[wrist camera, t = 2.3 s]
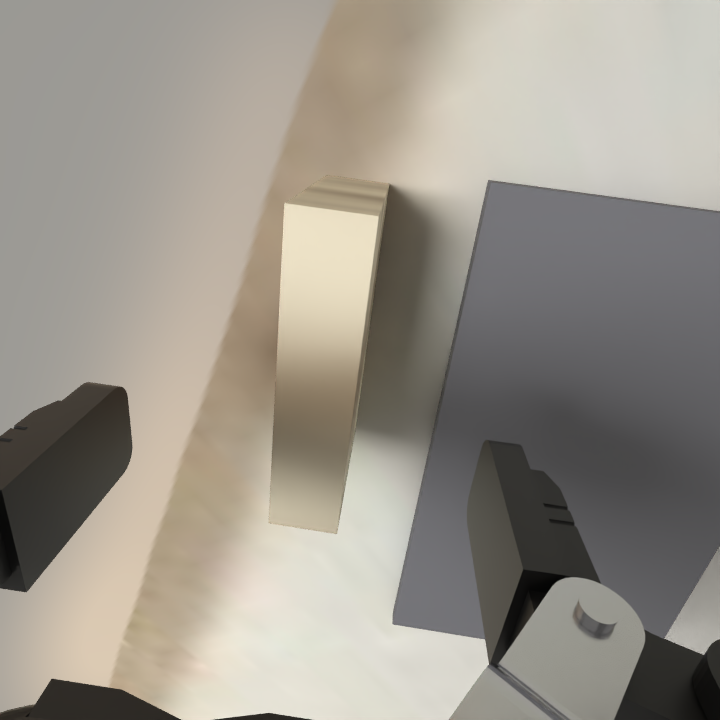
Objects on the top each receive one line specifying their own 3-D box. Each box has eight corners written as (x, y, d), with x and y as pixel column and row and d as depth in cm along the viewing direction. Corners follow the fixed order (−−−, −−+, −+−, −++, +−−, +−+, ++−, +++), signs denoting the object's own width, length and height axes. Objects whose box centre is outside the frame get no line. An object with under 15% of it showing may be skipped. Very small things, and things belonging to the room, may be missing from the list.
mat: (488, 179, 15) (490, 182, 15) (886, 233, 15) (903, 238, 14) (392, 613, 24) (392, 624, 24) (642, 653, 24) (647, 665, 23)
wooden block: (322, 174, 16) (277, 202, 11) (389, 183, 16) (378, 216, 10) (303, 413, 20) (263, 522, 14) (356, 421, 20) (336, 533, 14)
